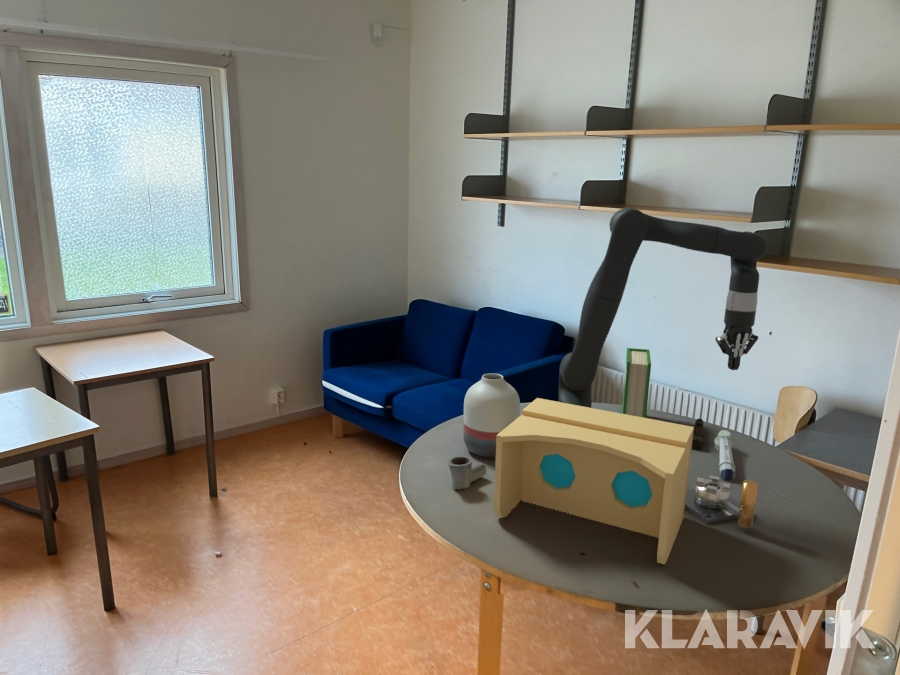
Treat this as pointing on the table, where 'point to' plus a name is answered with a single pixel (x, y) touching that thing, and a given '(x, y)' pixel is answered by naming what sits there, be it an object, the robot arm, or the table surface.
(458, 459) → the pipe
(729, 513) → the hub plate
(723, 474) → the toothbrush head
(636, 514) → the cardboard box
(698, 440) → the hand tool
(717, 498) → the crank handle
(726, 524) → the table surface
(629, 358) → the hardback book
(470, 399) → the vase
